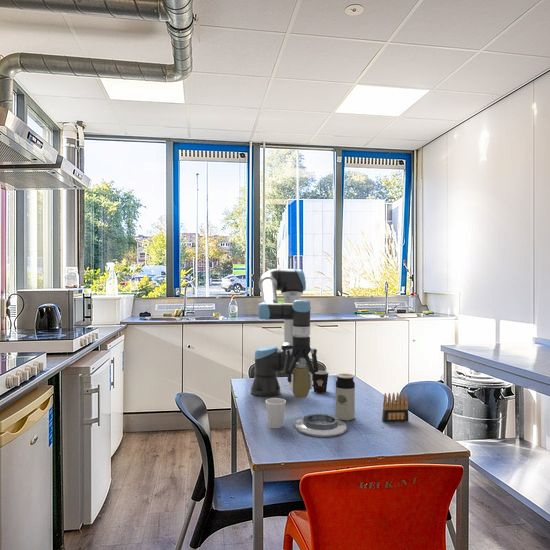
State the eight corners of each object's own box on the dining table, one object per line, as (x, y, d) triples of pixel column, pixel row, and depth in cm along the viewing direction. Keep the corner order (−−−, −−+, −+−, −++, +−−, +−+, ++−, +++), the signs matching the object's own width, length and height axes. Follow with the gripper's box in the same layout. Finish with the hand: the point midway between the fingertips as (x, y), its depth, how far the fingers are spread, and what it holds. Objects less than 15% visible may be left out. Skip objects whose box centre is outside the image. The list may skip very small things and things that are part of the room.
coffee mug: (331, 391, 229) (331, 371, 229) (323, 394, 222) (324, 374, 222) (311, 387, 236) (311, 369, 236) (303, 391, 228) (303, 372, 228)
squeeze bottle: (297, 400, 182) (297, 357, 182) (287, 395, 190) (288, 353, 190) (313, 397, 186) (314, 355, 186) (303, 393, 193) (304, 352, 193)
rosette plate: (288, 422, 178) (288, 413, 178) (333, 418, 184) (333, 409, 184) (306, 439, 159) (306, 429, 159) (355, 434, 165) (355, 425, 165)
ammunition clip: (406, 420, 182) (407, 391, 182) (408, 422, 180) (408, 392, 181) (382, 421, 181) (382, 392, 181) (383, 422, 179) (383, 393, 179)
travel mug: (343, 413, 191) (343, 372, 191) (358, 418, 185) (358, 375, 185) (331, 417, 185) (332, 375, 185) (347, 422, 179) (347, 378, 179)
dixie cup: (262, 423, 176) (262, 398, 177) (281, 421, 179) (281, 397, 179) (269, 430, 169) (269, 404, 169) (289, 428, 172) (289, 402, 172)
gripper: (281, 338, 181) (280, 393, 181) (327, 336, 187) (326, 389, 187) (275, 335, 188) (275, 388, 188) (320, 334, 195) (319, 385, 195)
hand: (300, 388), depth 188 cm, fingers closed on squeeze bottle, 8 cm apart
